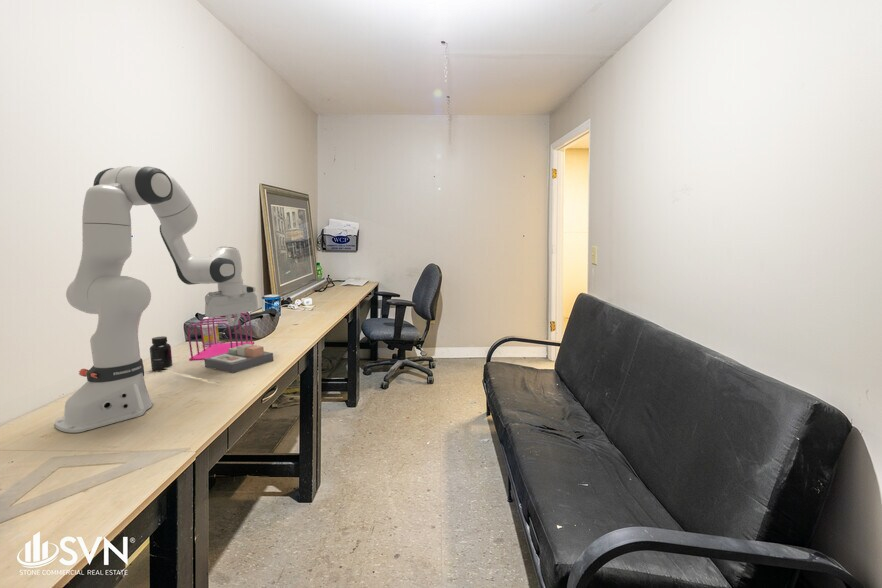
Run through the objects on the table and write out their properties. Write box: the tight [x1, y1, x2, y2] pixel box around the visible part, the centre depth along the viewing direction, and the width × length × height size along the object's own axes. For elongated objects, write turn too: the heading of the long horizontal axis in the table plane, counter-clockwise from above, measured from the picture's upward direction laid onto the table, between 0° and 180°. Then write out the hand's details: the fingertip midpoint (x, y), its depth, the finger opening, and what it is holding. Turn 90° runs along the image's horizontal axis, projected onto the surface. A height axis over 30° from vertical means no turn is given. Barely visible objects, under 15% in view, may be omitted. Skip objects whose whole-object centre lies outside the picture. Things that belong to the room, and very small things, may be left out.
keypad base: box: [203, 350, 274, 374], centre depth 175 cm, size 17×17×4 cm
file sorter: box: [187, 312, 255, 362], centre depth 194 cm, size 17×25×16 cm
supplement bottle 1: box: [149, 335, 173, 372], centre depth 174 cm, size 7×7×12 cm
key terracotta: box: [246, 344, 265, 358], centre depth 174 cm, size 4×4×4 cm
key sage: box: [228, 347, 237, 354], centre depth 180 cm, size 4×4×4 cm
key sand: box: [237, 344, 255, 356], centre depth 177 cm, size 4×4×4 cm
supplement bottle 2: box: [202, 316, 220, 348], centre depth 209 cm, size 7×7×13 cm
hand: (233, 325), depth 179 cm, fingers closed
